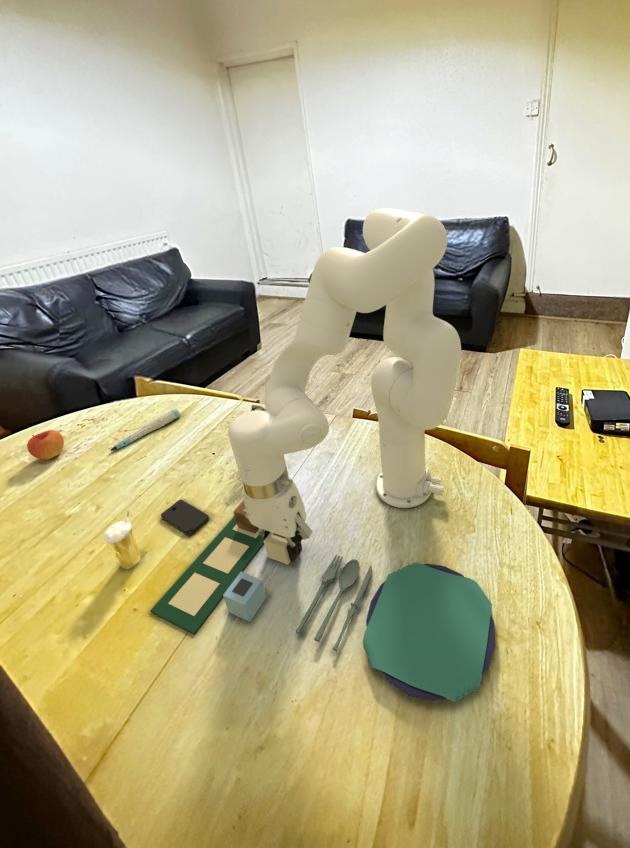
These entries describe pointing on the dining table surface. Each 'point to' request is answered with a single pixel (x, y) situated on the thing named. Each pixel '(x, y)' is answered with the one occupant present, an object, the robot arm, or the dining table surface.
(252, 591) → the light blue block
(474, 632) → the cutlery set
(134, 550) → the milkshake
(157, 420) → the pen
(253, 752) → the dining table surface
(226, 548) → the word mat
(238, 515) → the letter block
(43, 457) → the apple
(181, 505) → the black smartphone
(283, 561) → the letter block
